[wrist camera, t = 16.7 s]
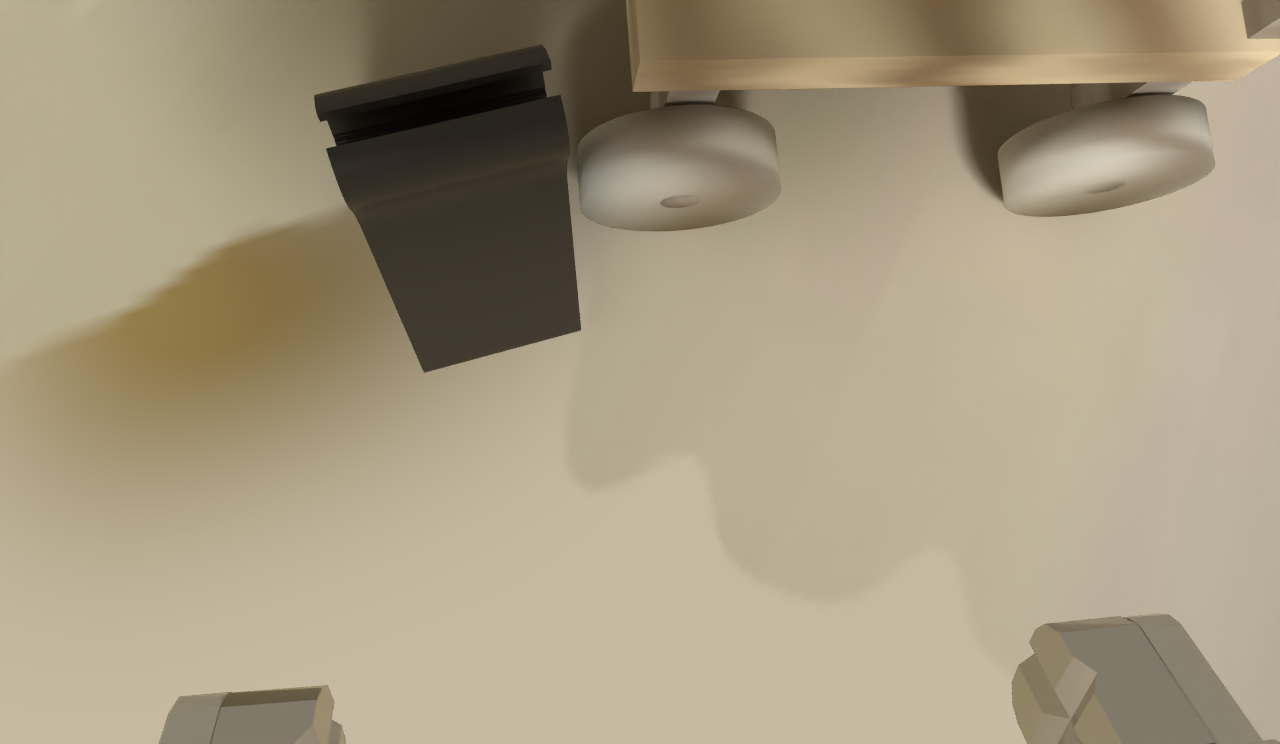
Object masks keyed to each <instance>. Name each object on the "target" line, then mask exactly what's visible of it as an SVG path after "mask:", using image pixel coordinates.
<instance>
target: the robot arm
mask: <svg viewBox="0 0 1280 744" xmlns="http://www.w3.org/2000/svg"><path fill="white" fill-rule="evenodd" d="M1029 643H1030V645H1031V647H1032V649H1033V651H1034V652H1035V654H1033V655H1032V656H1030V657H1029V658H1028V659H1026V660H1025V661H1024V662H1022V663H1021V664H1019V665H1018V668H1017V670H1016V673H1015V676H1014V678H1013V681H1012V700H1013V701H1012V703H1013V708H1014V711H1015V715H1016V719H1017V722H1018V725H1019V727H1020V729H1021V731H1022V733H1023V735H1024V738H1025V740H1026V742H1027V744H1280V743H1279V742H1278V741H1276V740H1262V739H1261V737H1260V736H1259V734H1258V733H1257V732H1256V730H1255V729H1254V727H1253V726H1252V724H1251V723H1250V722H1249V720H1248V719H1247V717H1246V716H1245V714H1244V713H1243V712H1242V710H1241V709H1240V707H1239V706H1238V705H1237V703H1236V702H1235V700H1234V699H1233V697H1232V696H1231V695H1230V693H1229V692H1228V690H1227V689H1226V687H1225V686H1224V685H1223V683H1222V682H1221V680H1220V679H1219V678H1218V676H1217V675H1216V673H1215V672H1214V670H1213V669H1212V668H1211V666H1210V665H1209V663H1208V662H1207V660H1206V659H1205V658H1204V656H1203V655H1202V653H1201V652H1200V650H1199V649H1198V648H1197V646H1196V645H1195V643H1194V642H1193V641H1192V639H1191V638H1190V636H1189V635H1188V633H1187V632H1186V631H1185V629H1184V628H1183V626H1182V625H1181V624H1180V623H1179V622H1178V621H1177V620H1176V619H1174V618H1173V617H1171V616H1170V615H1168V614H1149V615H1139V616H1129V617H1121V616H1117V617H1107V618H1098V619H1088V620H1078V621H1069V622H1059V623H1049V624H1044V625H1042V626H1040V627H1039V628H1037V629H1036V630H1035V632H1034V634H1033V636H1032V638H1031V640H1030V642H1029ZM333 707H334V700H333V698H332V695H331V692H330V690H329V687H328V685H325V686H314V687H313V686H312V687H300V688H287V689H273V690H261V691H248V692H235V693H233V692H225V693H214V694H203V695H192V696H180V697H179V698H178V699H177V701H176V703H175V704H174V706H173V707H172V709H171V710H170V712H169V713H168V716H167V720H166V722H165V725H164V729H163V732H162V735H161V738H160V741H159V744H346V740H345V736H344V732H343V729H342V726H341V725H340V724H338V723H337V722H335V721H333V720H332V713H333Z"/></svg>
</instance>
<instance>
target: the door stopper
mask: <svg viewBox="0 0 1280 744" xmlns="http://www.w3.org/2000/svg"><path fill="white" fill-rule="evenodd" d="M547 70H551V61H550V59H549V56H548V54H547V52H546V50H545V48H544V47H543V45H538V46H534V47H529V48H525V49H520V50H515V51H511V52H506V53H502V54H497V55H493V56H488V57H484V58H479V59H475V60H470V61H466V62H461V63H457V64H452V65H448V66H443V67H438V68H434V69H429V70H425V71H420V72H416V73H411V74H407V75H402V76H398V77H393V78H389V79H384V80H380V81H375V82H371V83H366V84H361V85H357V86H352V87H348V88H343V89H339V90H334V91H330V92H325V93H321V94H316V95H315V96H314V100H315V107H316V112H317V115H318V118H319V120H320V122H321V121H325V120H327V121H328V124H329V126H330V129H331V132H332V135H333V137H334V139H335V143H336V146H335V147H331V148H327V149H326V150H327V153H328V156H329V159H330V162H331V165H332V168H333V171H334V174H335V177H336V180H337V182H338V185H339V188H340V190H341V193H342V195H343V197H344V199H345V202H346V204H347V205H348V207H349V209H350V210H351V211H352V212H353V213H354V215H355V216H356V218H357V220H358V222H359V224H360V226H361V228H362V230H363V233H364V235H365V237H366V240H367V242H368V244H369V247H370V249H371V251H372V253H373V256H374V258H375V260H376V263H377V265H378V267H379V270H380V272H381V274H382V277H383V279H384V281H385V284H386V286H387V288H388V291H389V293H390V295H391V297H392V300H393V302H394V304H395V307H396V309H397V311H398V314H399V316H400V318H401V320H402V323H403V325H404V327H405V330H406V332H407V334H408V337H409V339H410V341H411V343H412V346H413V348H414V351H415V353H416V355H417V358H418V360H419V362H420V364H421V367H422V369H423V371H424V372H429V371H432V370H436V369H439V368H443V367H447V366H451V365H454V364H458V363H462V362H465V361H469V360H473V359H476V358H480V357H484V356H488V355H491V354H495V353H499V352H503V351H506V350H510V349H513V348H517V347H521V346H525V345H528V344H532V343H536V342H539V341H543V340H547V339H551V338H554V337H558V336H562V335H565V334H569V333H573V332H577V331H580V330H581V324H580V313H579V302H578V291H577V280H576V271H575V260H574V248H573V237H572V226H571V215H570V205H569V194H568V184H567V161H568V157H569V153H570V147H569V136H568V129H567V123H566V118H565V113H564V108H563V103H562V99H561V95H557V96H553V97H548V98H547V95H546V92H545V84H544V78H543V71H547Z"/></svg>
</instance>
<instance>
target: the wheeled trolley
mask: <svg viewBox="0 0 1280 744" xmlns="http://www.w3.org/2000/svg"><path fill="white" fill-rule="evenodd" d="M626 9H627V23H628V36H629V49H630V62H631V76H632V89H633V92H651V95H650V99H649V101H650V109H648V110H643V111H639V112H634V113H631V114H627V115H624V116H621V117H618V118H615V119H613V120H610V121H608V122H606V123H603V124H601V125H600V126H598V127H596V128H594V129H593V130H591V131H590V132H589V133H587V134H586V135H585V136H584V137H583V138H582V139H581V141H580V142H579V144H578V146H577V150H576V151H577V167H578V182H579V197H580V210H581V212H582V213H583V215H584V216H585V217H587V218H588V219H590V220H591V221H594V222H596V223H598V224H601V225H604V226H609V227H613V228H618V229H625V230H635V231H676V230H687V229H695V228H702V227H708V226H714V225H719V224H723V223H727V222H731V221H735V220H738V219H741V218H744V217H747V216H750V215H752V214H754V213H757V212H759V211H761V210H763V209H764V208H766V207H768V206H769V205H771V204H772V203H773V202H774V201H775V200H776V199H777V198H778V196H779V195H780V191H781V188H780V177H779V167H778V157H777V146H776V136H775V130H774V128H773V126H772V125H771V124H770V123H769V122H768V121H767V120H766V119H764V118H762V117H761V116H759V115H757V114H754V113H752V112H749V111H745V110H742V109H737V108H733V107H725V106H717V105H714V103H715V101H716V98H717V96H718V94H719V92H720V90H758V89H811V88H863V87H916V86H968V85H1021V84H1069V89H1070V96H1071V103H1072V110H1070V111H1067V112H1064V113H1061V114H1058V115H1055V116H1052V117H1050V118H1047V119H1044V120H1042V121H1040V122H1037V123H1035V124H1033V125H1031V126H1029V127H1027V128H1025V129H1023V130H1021V131H1020V132H1018V133H1016V134H1015V135H1013V136H1012V137H1010V138H1009V139H1008V140H1007V141H1006V142H1004V143H1003V145H1002V146H1001V147H1000V149H999V151H998V161H999V169H1000V177H1001V184H1002V192H1003V200H1004V206H1005V208H1006V209H1007V210H1008V211H1010V212H1012V213H1015V214H1019V215H1025V216H1039V217H1050V216H1067V215H1077V214H1085V213H1092V212H1099V211H1104V210H1110V209H1115V208H1119V207H1124V206H1128V205H1132V204H1136V203H1140V202H1144V201H1148V200H1151V199H1154V198H1157V197H1161V196H1164V195H1167V194H1169V193H1172V192H1175V191H1177V190H1180V189H1182V188H1185V187H1187V186H1189V185H1191V184H1193V183H1195V182H1197V181H1199V180H1200V179H1202V178H1204V177H1205V176H1206V175H1208V174H1209V173H1210V172H1211V171H1212V170H1213V168H1214V166H1215V161H1214V155H1213V149H1212V142H1211V136H1210V130H1209V124H1208V118H1207V112H1206V107H1205V105H1204V104H1203V103H1202V102H1200V101H1199V100H1196V99H1194V98H1190V97H1185V96H1177V95H1172V94H1174V93H1175V92H1177V91H1178V90H1180V89H1181V88H1183V87H1184V86H1186V85H1188V84H1189V83H1191V82H1192V81H1231V80H1238V79H1239V78H1241V77H1243V76H1244V75H1246V74H1248V73H1249V72H1251V71H1253V70H1254V69H1256V68H1258V67H1259V66H1261V65H1263V64H1264V63H1266V62H1268V61H1269V60H1271V59H1273V58H1274V57H1276V56H1277V55H1279V54H1280V0H626Z"/></svg>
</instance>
